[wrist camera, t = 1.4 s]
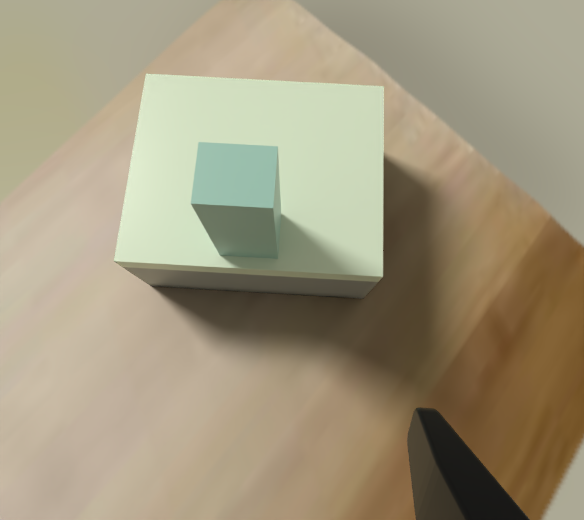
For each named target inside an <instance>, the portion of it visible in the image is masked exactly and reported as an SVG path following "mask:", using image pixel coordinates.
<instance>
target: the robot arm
mask: <svg viewBox="0 0 584 520" xmlns="http://www.w3.org/2000/svg"><path fill="white" fill-rule="evenodd" d="M407 444H408V454H409V463H410V472H411V481H412V490H413V499H414V508H415V515H416V520H530V519H529V518H528V517H527V516H526V515H525V514H524V512H523V511H522V510H521V509H520V508H519V506H518V505H517V504H516V503H515V502H514V501H513V499H512V498H511V497H510V496H509V495H508V493H507V492H506V491H505V490H504V489H503V488H502V486H501V485H500V484H499V483H498V482H497V480H496V479H495V478H494V477H493V476H492V475H491V473H490V472H489V471H488V470H487V469H486V467H485V466H484V465H483V464H482V463H481V461H480V460H479V459H478V458H477V457H476V456H475V454H474V453H473V452H472V451H471V450H470V448H469V447H468V446H467V445H466V444H465V443H464V441H463V440H462V439H461V438H460V437H459V435H458V434H457V433H456V432H455V431H454V430H453V428H452V427H451V426H450V425H449V424H448V422H447V421H446V420H445V419H444V418H443V417H442V415H441V414H440V413H439V412H438V411H437V410H435V409H432V408H416V409H415V411H414V413H413V417H412V420H411V424H410V428H409V431H408V438H407Z"/></svg>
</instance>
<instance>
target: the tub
mask: <svg viewBox="0 0 584 520" xmlns="http://www.w3.org/2000/svg"><path fill="white" fill-rule="evenodd" d="M123 268H125V269H126V270H128V271H129V272H131V273H132V274H134V275H135V276H137V277H138V278H140V279H141V280H143V281H144V282H146V283H147V284H149V285H150V286H156V287H173V288H190V289H207V290H224V291H241V292H258V293H275V294H292V295H309V296H326V297H343V298H360V299H363V298H364V297H365V296H366V295H367V294H368V293H369V292H370V291H371V289H372V288H373V287H374V286H375V285H376V284H377V283H378V282H369V281H352V280H335V279H318V278H301V277H283V276H266V275H249V274H232V273H215V272H198V271H180V270H163V269H146V268H129V267H123Z"/></svg>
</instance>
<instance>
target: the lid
mask: <svg viewBox="0 0 584 520" xmlns="http://www.w3.org/2000/svg"><path fill="white" fill-rule="evenodd" d="M383 154H384V86H367V85H348V84H329V83H310V82H292V81H273V80H254V79H236V78H217V77H198V76H179V75H161V74H146V77H145V82H144V88H143V94H142V100H141V106H140V112H139V117H138V123H137V129H136V135H135V141H134V147H133V152H132V158H131V164H130V170H129V176H128V181H127V187H126V193H125V199H124V205H123V211H122V216H121V222H120V228H119V234H118V240H117V246H116V251H115V257H114V262H116V263H117V264H119V265H120V266H122V267H129V268H146V269H163V270H180V271H198V272H215V273H232V274H249V275H266V276H283V277H301V278H318V279H335V280H352V281H369V282H379V281H380V279H381V278H382V277H383Z"/></svg>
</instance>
